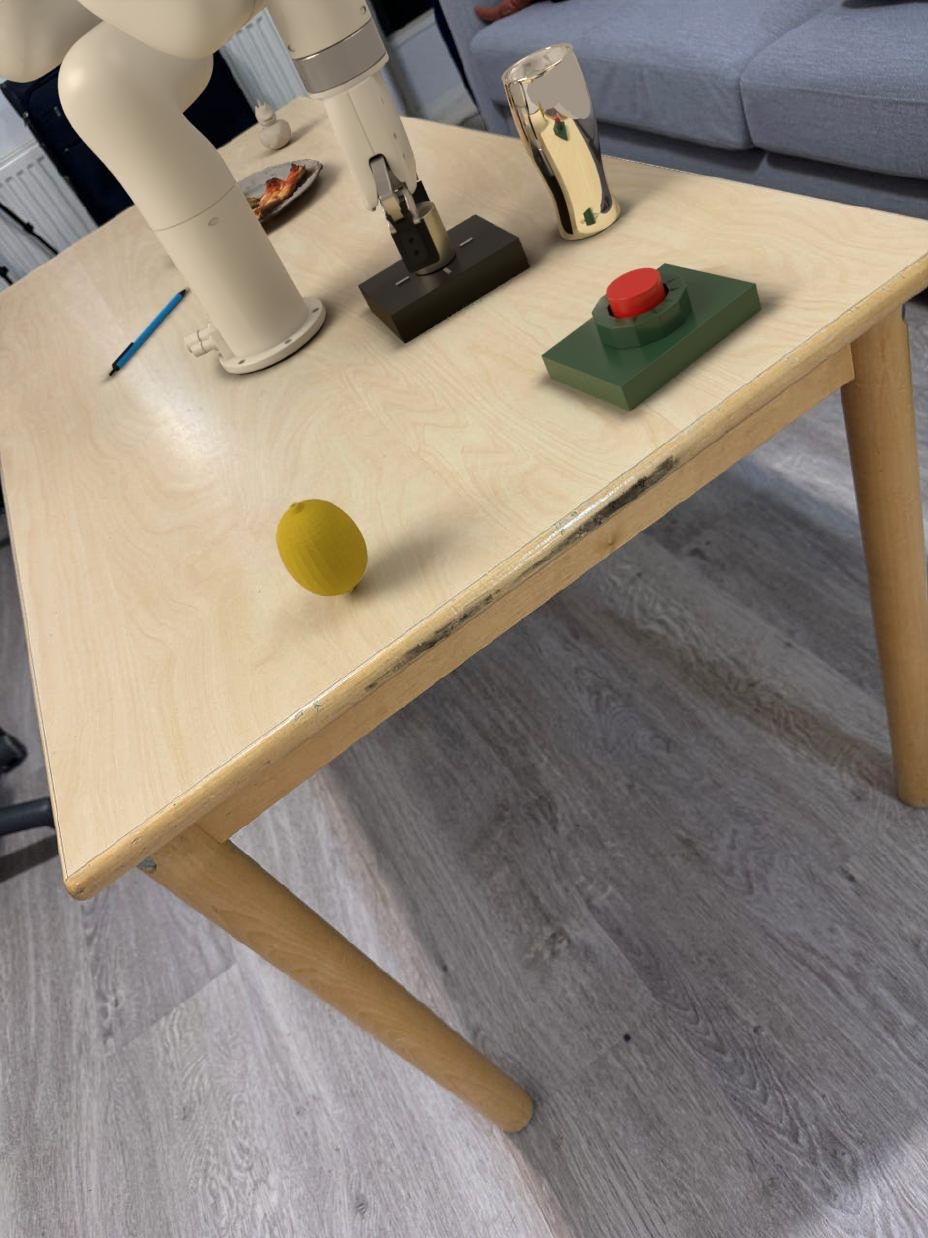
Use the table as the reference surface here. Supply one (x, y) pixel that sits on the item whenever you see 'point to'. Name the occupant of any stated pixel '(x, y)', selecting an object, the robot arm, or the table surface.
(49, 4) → the robot arm
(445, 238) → the knob
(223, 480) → the table surface
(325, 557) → the lemon
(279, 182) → the food plate
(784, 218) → the table surface
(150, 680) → the table surface
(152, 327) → the pen
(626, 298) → the button
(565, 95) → the beer glass
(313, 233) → the table surface
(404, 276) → the panel
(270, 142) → the rubber duck
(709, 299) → the switchbox
